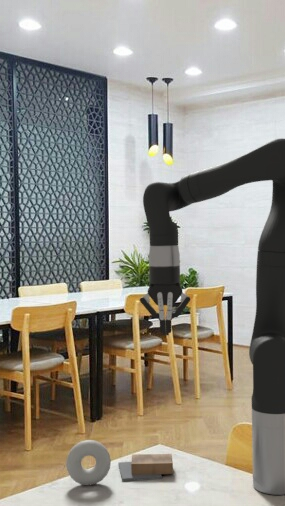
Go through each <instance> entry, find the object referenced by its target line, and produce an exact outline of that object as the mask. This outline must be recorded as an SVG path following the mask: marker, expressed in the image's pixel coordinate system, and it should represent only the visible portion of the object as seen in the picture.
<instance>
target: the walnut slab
mask: <svg viewBox="0 0 285 506" xmlns="http://www.w3.org/2000/svg"><path fill="white" fill-rule="evenodd" d="M130 462H131V472H132V475H142V474H161V475H173V474H174V470H173V469H174V466H173V463H174V461H173V454H172V453H150V454H149V453H148V454H146V453H145V454H131V461H130Z"/></svg>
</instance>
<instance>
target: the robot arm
mask: <svg viewBox="0 0 285 506" xmlns="http://www.w3.org/2000/svg"><path fill="white" fill-rule="evenodd" d="M267 181H272V191H271V192H272V196H271V206H270V211H269V213H268V216H267V219H266V221H265V223H264V227H263V228H262V230H261V234H260V237H259V241H258V246H257V255H256V256H257V257H256V275H255V277H256V278H255V280H256V281H255V293H256V294H255V298H256V302H255V303H256V305H255V306H256V307H255V317H254V323H253V329H252V334H251V339H250V343H249V349H248V350H249V351H248V352H249V353H248V355H249V359H250V362H251V364H252V394H251V439H252V440H251V441H252V442H251V444H252V447H251V449H252V450H251V451H252V486H253V488H254V489H255V490H257V491H258V492H261V493H263V494H267V495H275V496H277V495H278V496H281V495H285V138H275V139H274V140H271V141H268V142H266V143H265V144H262V145H261V146H259V147H257V148H255V149H252V150H251V151H249V152H247V153H244V154H242V155H240V156H238V157H236V158H233V159H231V160H228V161H226V162H223V163H220V164H216V165H214V166H211V167H207V168H204V169H203V168H202V169H200V170H198V171H195V172H194V171H193V172H191V173H188V174H186V175H184V176H182V177H181V178H180V180H177V181H173V182H162V181H161V182H160V181H153V182H151V183H149V184H148V185H147V186H146V187H145V189H144V192H143V196H142V203H143V204H142V205H143V210H144V213H145V218H146V223H147V225H148V229H149V251H148V268H149V269H148V270H149V271H148V272H149V275H148V277H149V278H148V280H149V286H148V289H147V293H146V294H145V295H143V296H141V297H140V299H139V302H140V303H141V304H142V305H143V307H144V308H145V309H146V311H148V313H149V314H150V315H151V317H152V318H153V319H158V320H159V333H160V334H162V336H169V335H170V334H171V333H172V320H173V319H175V318H178V317H180V315H181V313H182V312H183V311H184V309H186V307H187V306H188V304H190V301H191V297H190V296H188V294H186V293H185V292H183V288H182V287H181V265H180V263H181V260H180V259H181V258H180V251H179V249H180V248H179V228H178V225H177V224H176V223H175V221H173V220H172V219H171V214H170V212H175V211H177V210H178V211H179V210H182V209H184V208H186V207H188V206H190V205H193V204H196V203H200V202H204V201H208V200H211V199H214V198H215V199H216V198H217V197H220V196H223V195H225V194H226V193H228V192H230V191H232V190H234V189H237V188H238V187H240V186H243V185H247V184H250V183H257V182H258V183H259V182H267ZM150 298H151V299H150ZM179 298H180V299H179ZM151 300H152V301H153V303H154V304H155V305H157V307H158V312H157V311H156V309H155V308H154V307H153V306H152V305H151V304H150V303H151ZM178 300H180V302H181V303H180V304H179V305H178V307H177V308H176V309H175V310H174V311H173V306H174V305H175V304H176V302H177V301H178ZM165 306H166V315H165ZM165 316H166V317H165ZM165 318H166V319H165Z"/></svg>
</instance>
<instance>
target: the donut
mask: <svg viewBox="0 0 285 506" xmlns="http://www.w3.org/2000/svg"><path fill="white" fill-rule="evenodd" d="M89 456H90V457H93V458H94V460H95V465H94V466H93V467H92V468H89V469H88V468H85V467H83V465H82V460H83V459H84V458H86V457H89ZM111 460H112V459H111V454H110V452H109V451H108V449H107V447H106V446H105V445H103V443H102V442H100V441H97V440H93V439H85V440H81V441H79V442H78V443H76V444H74V445H73V446H72V448H70V450H69V452H68V454H67V456H66V462H65V467H66V471H67V474H68V475H69V478H71V480H73V481H75V483H78V484H79V485H82V486H93V485H97V484H98V483H100V482H101V481H103V480H104V479H105V478H106V476H108V473H109V471H110V469H111V463H112V461H111Z"/></svg>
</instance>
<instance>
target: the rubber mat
mask: <svg viewBox="0 0 285 506" xmlns="http://www.w3.org/2000/svg"><path fill="white" fill-rule="evenodd" d="M131 462H132V461H124V462H123V461H122V462H118V465H117V466H118V469H120V470H119V474H120V477H121V481H122V482H129V481H130V482H131V481H144V480H156V479H163V478H162V474H142V475H132V472H131Z"/></svg>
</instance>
